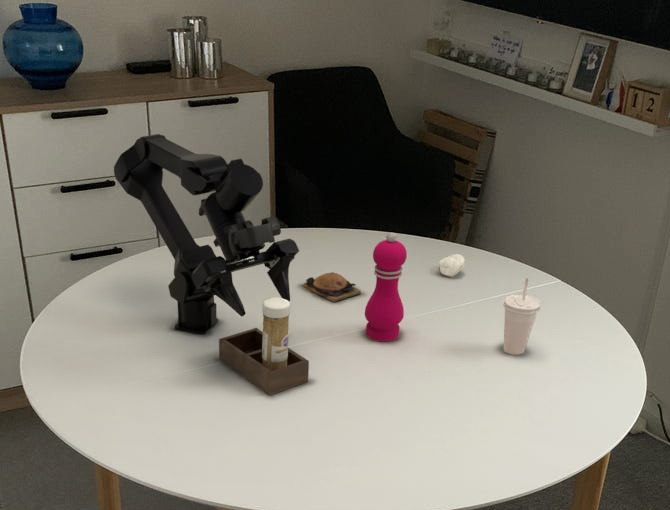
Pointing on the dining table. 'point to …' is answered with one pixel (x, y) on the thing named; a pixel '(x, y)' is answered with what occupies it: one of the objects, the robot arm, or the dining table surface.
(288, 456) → the dining table surface
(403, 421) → the dining table surface
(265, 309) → the sprinkles bottle
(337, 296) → the burger on wooden board
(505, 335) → the smoothie
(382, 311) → the pepper mill
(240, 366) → the wooden divided tray
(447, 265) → the dumpling
